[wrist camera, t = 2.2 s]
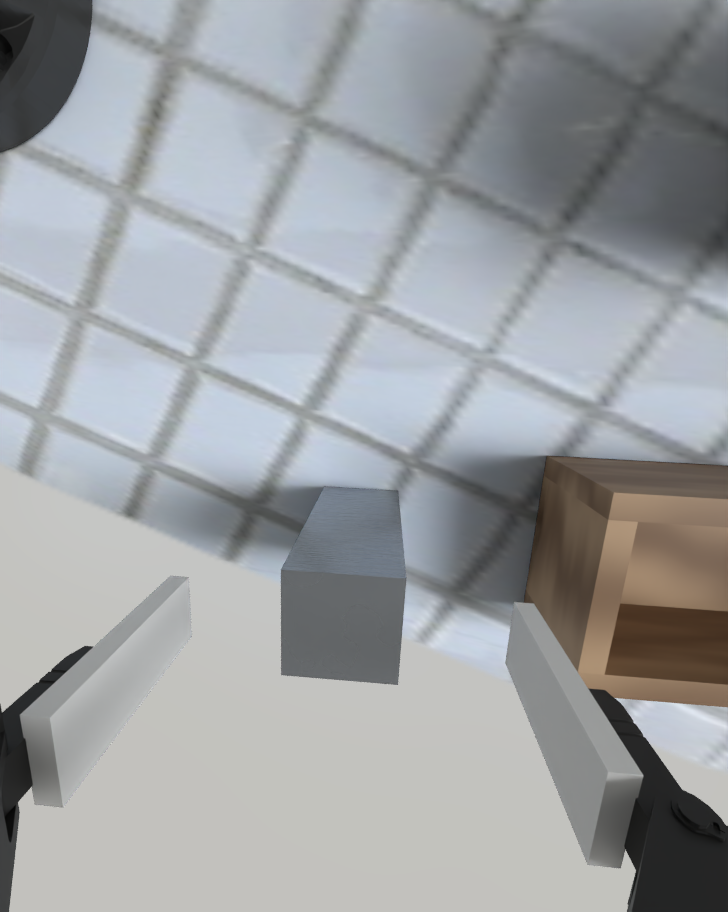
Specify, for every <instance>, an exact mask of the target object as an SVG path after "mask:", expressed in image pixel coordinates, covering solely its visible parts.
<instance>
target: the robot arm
mask: <svg viewBox="0 0 728 912" xmlns="http://www.w3.org/2000/svg"><path fill="white" fill-rule="evenodd" d="M91 20H92V0H0V151H4V150H7V149H10V148H12V147H14V146H17V145H19V144H21V143H23V142H24V141H26V140H28V139H29V138H31V137H32V136H34V135H35V134H37V133H38V132H39V131H40V130H41V129H43V128H44V127H45V126H46V125H47V124H48V123H49V122H50V121H51V120H52V119H53V117H54V116H55V115H56V114H57V113H58V112H59V110H60V109H61V107H62V106H63V105H64V103H65V101H66V100H67V98H68V96H69V95H70V93H71V91H72V89H73V87H74V85H75V83H76V81H77V78H78V76H79V73H80V71H81V68H82V65H83V62H84V58H85V54H86V50H87V46H88V41H89V35H90V28H91ZM191 637H192V631H191V612H190V594H189V578H188V577H179V576H170V577H169V578H168V579H167V580H166V581H164V582H163V583H162V584H161V585H160V586H159V587H158V588H157V589H156V590H155V591H154V592H153V593H152V594H150V595H149V596H148V597H147V598H146V599H145V600H144V601H143V602H142V603H141V604H140V605H139V606H137V607H136V608H135V609H134V610H133V611H132V612H131V613H130V614H129V615H128V616H126V618H124V619H123V620H122V621H121V622H120V623H119V624H118V625H117V626H116V627H115V628H113V629H112V630H111V631H110V632H109V633H108V634H107V635H106V636H105V637H104V638H103V639H102V640H100V641H99V642H98V643H97V644H96V645H95V646H94V647H91V646H84V647H82V648H81V649H79V650H77V651H75V652H74V653H72V654H70V655H69V656H67V657H66V658H64V659H63V660H62V661H61V662H60V663H59V664H57V665H56V666H55V667H54V668H53V669H52V671H51V672H48V673H47V674H46V675H45V676H44V677H42V678H41V679H40V681H39V683H36V684H35V685H33V686H32V687H31V688H30V689H29V690H28V691H27V692H25V693H24V694H23V695H22V696H21V697H20V698H18V699H17V700H16V701H15V702H14V703H13V704H12V705H11V706H9V707H8V708H7V709H6V710H5V711H4V712H2V711H1V706H0V912H9V905H10V896H11V886H12V878H13V868H14V859H15V850H16V841H17V831H18V822H19V813H20V812H19V807H18V801H19V800H20V799H21V798H22V797H23V796H24V794H25V793H26V792H27V791H28V790H29V789H30V788H31V786H32V791H33V797H34V802H35V804H36V805H44V806H54V807H64V806H65V804H66V803H67V802H68V800H69V799H70V798H71V796H72V795H73V794H74V792H75V791H76V790H77V788H78V787H79V786H80V784H81V783H82V782H83V780H84V779H85V778H86V776H87V775H88V774H89V772H90V771H91V770H92V768H93V767H94V766H95V764H96V763H97V761H98V760H99V759H100V757H101V756H102V755H103V754H104V753H105V751H106V750H107V749H108V747H109V746H110V745H111V743H112V742H113V741H114V739H115V738H116V736H117V735H118V734H119V733H120V731H121V730H122V729H123V727H124V726H125V724H126V723H127V722H128V721H129V719H130V718H131V716H132V715H133V714H134V713H135V711H136V710H137V708H138V707H139V706H140V705H141V703H142V702H143V701H144V699H145V698H146V697H147V695H148V694H149V693H150V691H151V690H152V689H153V687H154V686H155V685H156V683H157V682H158V681H159V679H160V678H161V677H162V675H163V674H164V673H165V671H166V670H167V669H168V667H169V666H170V665H171V663H172V662H173V661H174V659H175V658H176V657H177V655H178V654H179V653H180V651H181V650H182V649H183V647H184V646H185V645H186V643H187V642H188V640H189V639H190V638H191ZM505 663H506V665H507V668H508V670H509V673H510V675H511V678H512V680H513V683H514V685H515V687H516V690H517V692H518V695H519V697H520V700H521V702H522V704H523V707H524V710H525V712H526V714H527V717H528V719H529V722H530V724H531V727H532V729H533V731H534V734H535V737H536V739H537V742H538V744H539V746H540V749H541V751H542V754H543V756H544V759H545V761H546V764H547V766H548V768H549V771H550V773H551V776H552V778H553V781H554V783H555V786H556V788H557V791H558V793H559V796H560V798H561V801H562V803H563V805H564V808H565V810H566V813H567V815H568V818H569V820H570V822H571V825H572V828H573V830H574V832H575V835H576V837H577V840H578V842H579V845H580V847H581V850H582V852H583V855H584V857H585V860H586V862H587V864H588V865H594V866H603V867H612V868H621V864H622V861H623V857H624V852H625V849H626V851H627V853H628V855H629V857H630V859H631V861H632V863H633V865H634V867H635V869H636V873H635V877H634V881H633V885H632V889H631V893H630V897H629V900H628V909H627V912H728V826H726V825H725V824H724V822H723V821H722V819H721V818H720V817H719V816H718V815H717V814H716V813H715V812H714V811H713V810H712V809H711V808H710V807H709V806H708V805H707V804H705V803H704V802H703V801H701V800H700V799H698V798H697V797H695V796H694V795H692V794H690V793H687V792H686V791H683V790H682V789H681V787H680V786H679V785H678V783H677V782H676V780H675V779H674V778H673V776H672V775H671V773H670V772H669V771H668V769H667V768H666V766H665V765H664V763H663V762H662V761H661V759H660V758H659V756H658V755H657V754H656V752H655V751H654V749H653V748H652V747H651V745H650V744H649V742H648V741H647V739H646V738H644V737H643V734H642V732H641V731H640V730H639V728H638V727H637V725H636V724H634V723H633V720H632V718H631V717H630V715H629V714H628V713H627V711H626V710H625V708H624V707H623V706H622V704H621V703H619V702H618V701H617V700H616V699H615V698H614V697H613V696H611V695H610V694H609V693H608V692H607V691H606V690H601V689H589V688H587V686H586V685H585V683H584V681H583V680H582V678H581V677H580V675H579V674H578V672H577V670H576V669H575V667H574V666H573V664H572V663H571V661H570V659H569V658H568V656H567V655H566V653H565V652H564V650H563V648H562V647H561V645H560V644H559V642H558V641H557V639H556V637H555V636H554V634H553V633H552V631H551V630H550V628H549V626H548V625H547V623H546V622H545V620H544V619H543V617H542V615H541V614H540V612H539V611H538V609H537V608H536V606H535V604H534V603H521V602H514V606H513V613H512V620H511V627H510V634H509V641H508V648H507V655H506V662H505Z"/></svg>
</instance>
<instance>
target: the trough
mask: <svg viewBox="0 0 728 912" xmlns="http://www.w3.org/2000/svg"><path fill="white" fill-rule="evenodd" d="M524 603H534V604H535V606H536V608H537V609H538V611H539V612H540V614H541V615H542V617H543V619H544V620H545V622H546V623H547V625H548V626H549V628H550V630H551V631H552V633H553V634H554V636H555V637H556V639H557V641H558V642H559V644H560V645H561V647H562V648H563V650H564V652H565V653H566V655H567V656H568V658H569V659H570V661H571V663H572V664H573V666H574V667H575V669H576V670H577V672H578V674H579V675H580V677H581V678H582V680H583V681H584V683H585V685H586V686H587V688H589V689H601V690H606V691H607V692H608V693H609V694H610V695H611V696H613V697H614V698H623V699H635V700H647V701H659V702H671V703H683V704H695V705H707V706H719V707H728V466H723V465H705V464H687V463H669V462H651V461H633V460H615V459H597V458H580V457H562V456H547V457H546V464H545V470H544V477H543V483H542V489H541V496H540V502H539V509H538V515H537V521H536V528H535V534H534V541H533V547H532V553H531V560H530V566H529V573H528V579H527V585H526V592H525V598H524Z"/></svg>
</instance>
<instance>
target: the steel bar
mask: <svg viewBox="0 0 728 912" xmlns="http://www.w3.org/2000/svg"><path fill="white" fill-rule="evenodd" d="M405 586H406V572H405V561H404V550H403V539H402V529H401V518H400V507H399V496H398V491H392V490H376V489H359V488H343V487H326V486H324V488H323V490H322V492H321V494H320V496H319V498H318V500H317V502H316V504H315V506H314V507H313V509H312V511H311V513H310V515H309V517H308V519H307V521H306V523H305V525H304V527H303V528H302V530H301V532H300V534H299V536H298V538H297V540H296V542H295V544H294V546H293V548H292V550H291V551H290V553H289V555H288V557H287V559H286V561H285V563H284V565H283V567H282V569H281V675H287V676H299V677H311V678H323V679H334V680H348V681H359V682H371V683H382V684H394V685H398V677H399V663H400V650H401V638H402V625H403V612H404V599H405Z"/></svg>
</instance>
